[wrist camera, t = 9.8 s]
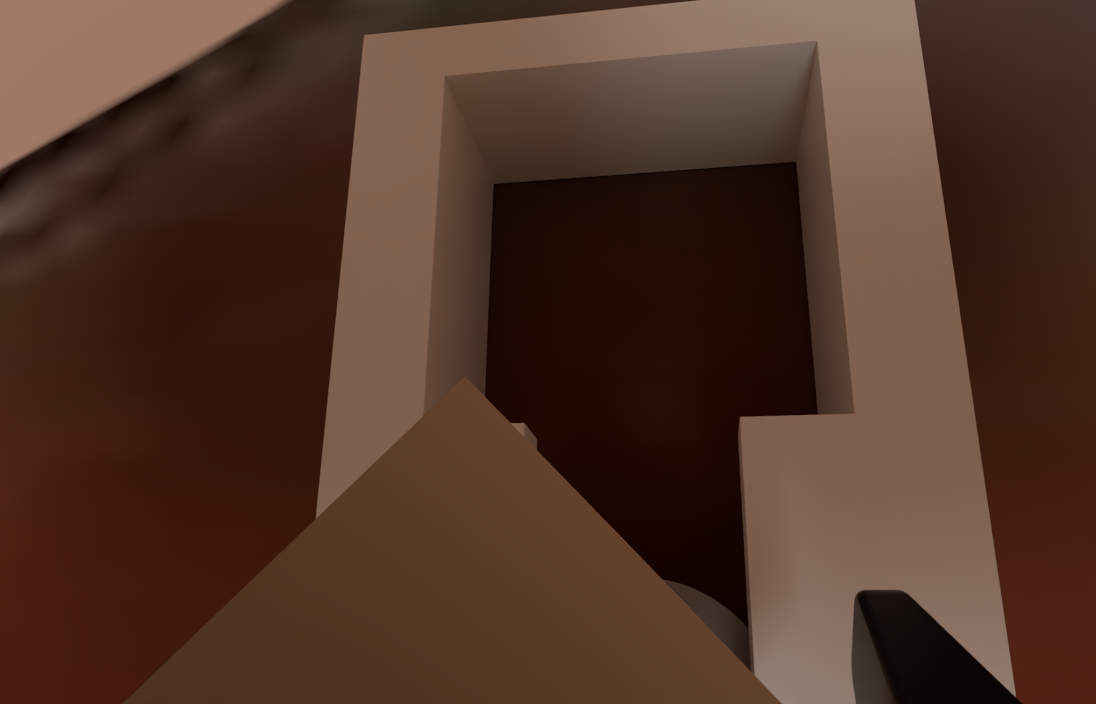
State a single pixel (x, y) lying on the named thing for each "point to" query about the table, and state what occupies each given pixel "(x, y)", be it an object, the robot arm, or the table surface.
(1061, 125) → the table surface
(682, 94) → the keyhole block
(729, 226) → the table surface
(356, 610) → the maple peg
